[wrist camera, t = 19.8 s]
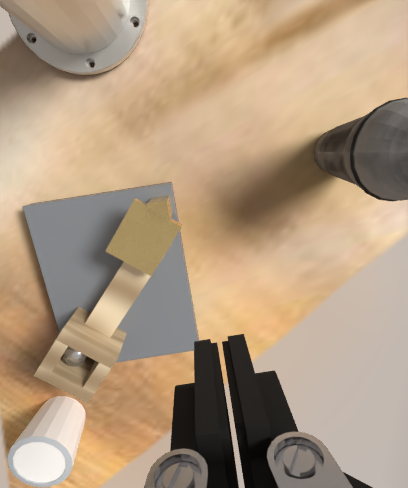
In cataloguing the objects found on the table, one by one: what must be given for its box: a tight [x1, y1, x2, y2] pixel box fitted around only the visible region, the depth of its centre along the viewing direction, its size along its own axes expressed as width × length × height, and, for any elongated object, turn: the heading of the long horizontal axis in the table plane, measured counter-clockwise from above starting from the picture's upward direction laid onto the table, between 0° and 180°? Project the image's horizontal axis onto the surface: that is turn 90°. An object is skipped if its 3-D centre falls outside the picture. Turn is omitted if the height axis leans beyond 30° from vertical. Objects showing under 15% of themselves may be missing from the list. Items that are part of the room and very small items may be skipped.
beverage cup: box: [314, 98, 408, 201], centre depth 27 cm, size 7×7×20 cm
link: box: [34, 243, 172, 403], centre depth 35 cm, size 18×6×5 cm, turn 146°
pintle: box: [63, 346, 87, 367], centre depth 38 cm, size 2×2×6 cm
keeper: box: [106, 195, 182, 276], centre depth 34 cm, size 7×5×6 cm
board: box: [23, 182, 199, 362], centre depth 38 cm, size 19×15×2 cm
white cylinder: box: [7, 396, 86, 487], centre depth 40 cm, size 7×7×7 cm
